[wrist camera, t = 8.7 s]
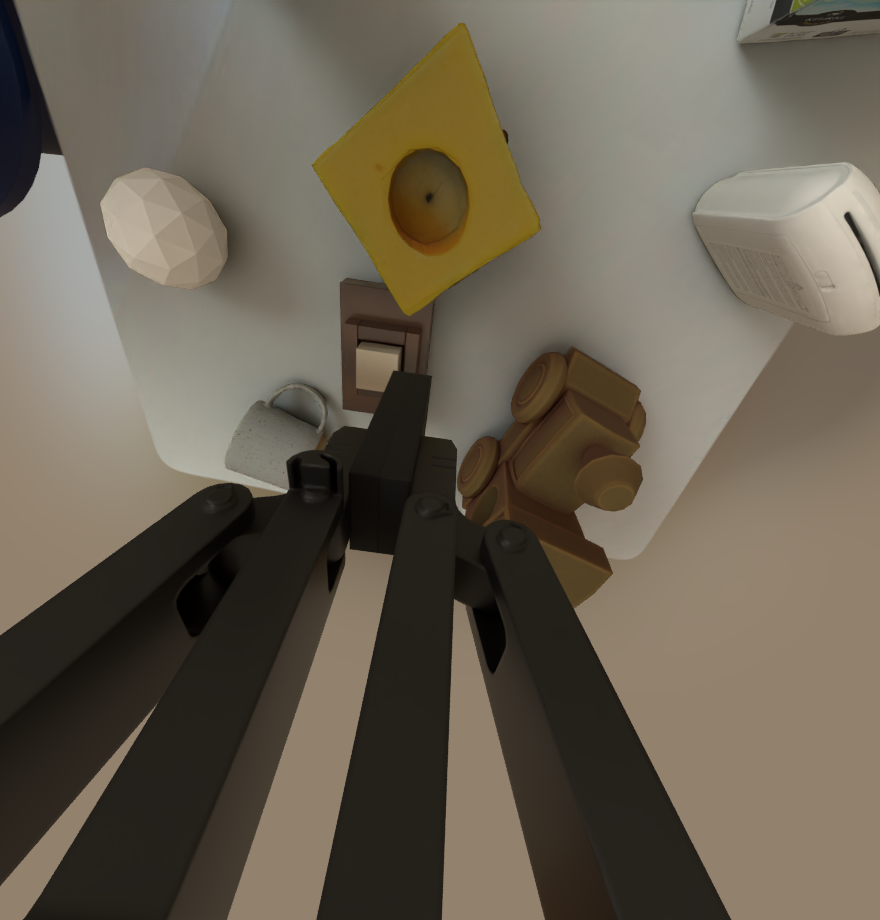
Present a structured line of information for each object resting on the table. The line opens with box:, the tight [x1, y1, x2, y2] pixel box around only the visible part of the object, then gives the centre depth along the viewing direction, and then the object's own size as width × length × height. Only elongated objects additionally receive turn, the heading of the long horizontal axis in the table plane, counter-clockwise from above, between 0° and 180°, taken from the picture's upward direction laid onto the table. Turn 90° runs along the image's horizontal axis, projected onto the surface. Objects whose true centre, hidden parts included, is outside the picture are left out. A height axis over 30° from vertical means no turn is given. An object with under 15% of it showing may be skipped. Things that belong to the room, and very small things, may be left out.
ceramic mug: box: [225, 383, 328, 490], centre depth 39 cm, size 11×8×8 cm
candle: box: [312, 23, 541, 316], centre depth 25 cm, size 10×10×10 cm
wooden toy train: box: [457, 346, 646, 609], centre depth 34 cm, size 20×11×17 cm, turn 152°
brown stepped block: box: [340, 278, 435, 414], centre depth 35 cm, size 12×8×4 cm, turn 173°
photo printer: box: [692, 163, 880, 336], centre depth 25 cm, size 10×4×12 cm, turn 47°
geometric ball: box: [100, 167, 228, 290], centre depth 29 cm, size 8×8×8 cm
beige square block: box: [356, 341, 402, 392], centre depth 33 cm, size 4×4×2 cm
